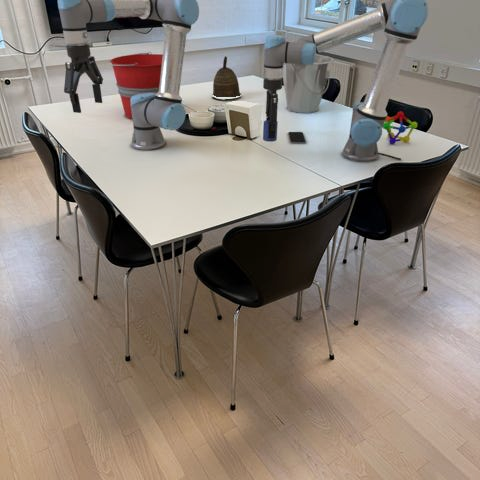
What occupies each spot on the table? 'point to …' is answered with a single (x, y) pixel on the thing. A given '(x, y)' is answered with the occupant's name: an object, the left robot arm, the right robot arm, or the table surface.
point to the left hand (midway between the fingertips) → (88, 107)
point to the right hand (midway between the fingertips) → (270, 135)
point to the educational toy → (398, 128)
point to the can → (265, 132)
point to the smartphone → (296, 137)
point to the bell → (225, 82)
